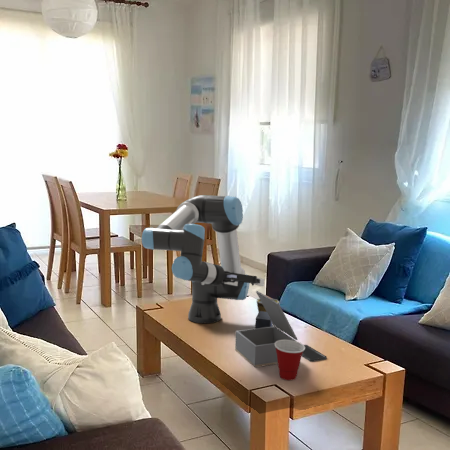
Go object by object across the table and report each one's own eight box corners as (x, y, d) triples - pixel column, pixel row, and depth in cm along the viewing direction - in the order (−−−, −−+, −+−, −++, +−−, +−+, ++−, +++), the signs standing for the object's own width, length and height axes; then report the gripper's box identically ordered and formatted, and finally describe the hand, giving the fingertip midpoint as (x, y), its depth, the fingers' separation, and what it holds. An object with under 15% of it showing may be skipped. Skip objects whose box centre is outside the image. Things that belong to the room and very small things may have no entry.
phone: (306, 344, 231) (327, 357, 217) (305, 347, 231) (327, 359, 217) (289, 347, 227) (310, 360, 214) (289, 349, 227) (310, 362, 214)
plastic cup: (296, 386, 193) (297, 352, 191) (267, 378, 198) (268, 345, 196) (308, 375, 202) (310, 343, 200) (281, 368, 207) (282, 337, 206)
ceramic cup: (282, 323, 259) (283, 302, 257) (265, 327, 253) (266, 305, 252) (264, 315, 270) (265, 295, 268) (248, 319, 264) (248, 298, 262)
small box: (270, 344, 232) (270, 319, 231) (254, 342, 234) (254, 318, 232) (273, 335, 243) (273, 311, 241) (257, 334, 244) (258, 310, 242)
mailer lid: (255, 291, 224) (257, 290, 225) (274, 325, 230) (275, 323, 230) (277, 304, 208) (279, 302, 208) (296, 340, 213) (298, 338, 213)
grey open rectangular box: (235, 350, 225) (235, 330, 223) (273, 345, 231) (274, 326, 230) (254, 367, 208) (255, 346, 207) (295, 361, 215) (296, 340, 213)
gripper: (185, 284, 210) (225, 291, 224) (234, 284, 192) (274, 293, 207) (188, 264, 211) (227, 273, 226) (236, 263, 194) (275, 272, 208)
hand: (250, 282), depth 216 cm, fingers open, 13 cm apart
